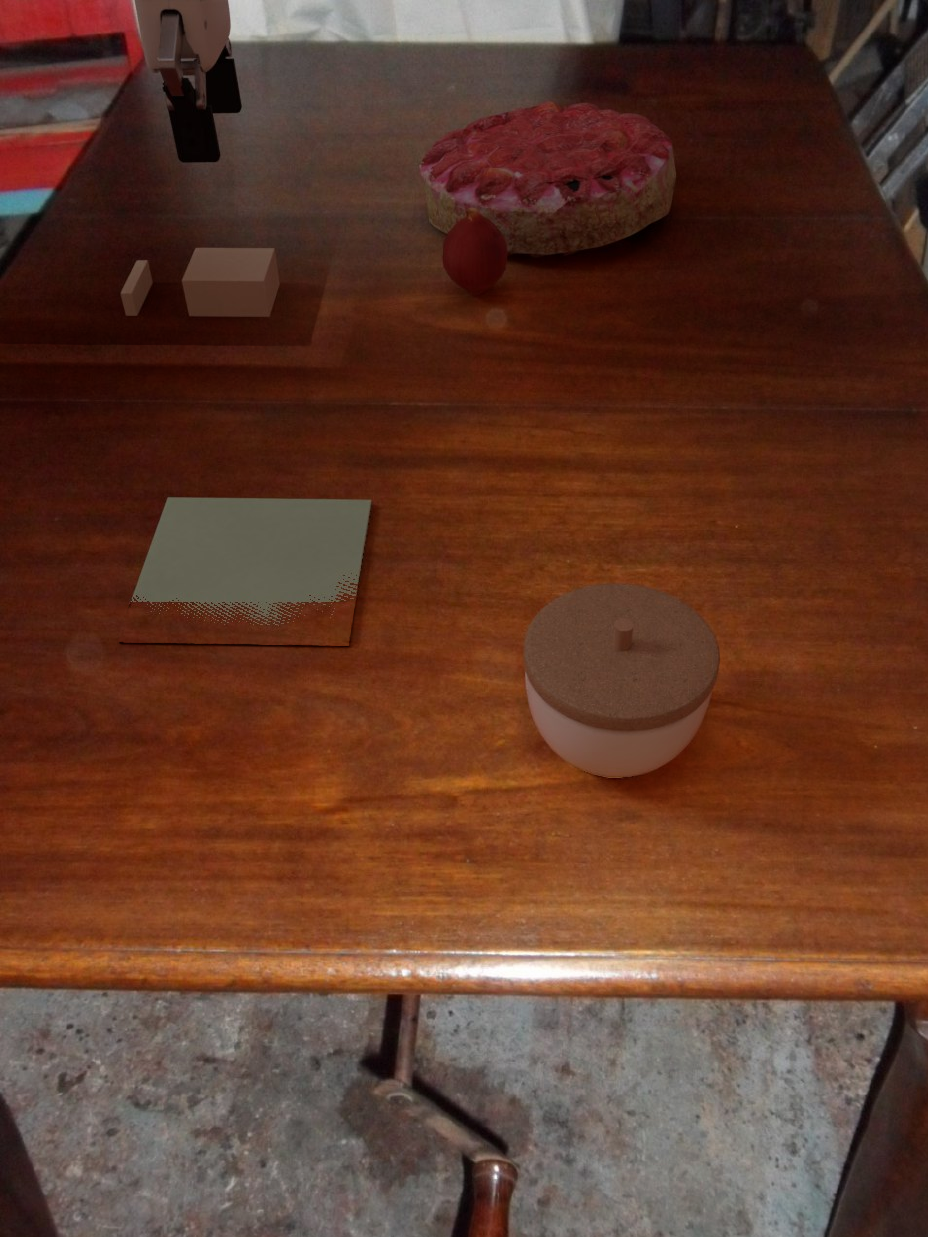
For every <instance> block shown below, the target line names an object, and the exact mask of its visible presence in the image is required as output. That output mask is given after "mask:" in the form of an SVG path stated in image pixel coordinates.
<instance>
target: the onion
mask: <svg viewBox="0 0 928 1237" xmlns="http://www.w3.org/2000/svg"><path fill="white" fill-rule="evenodd" d="M465 213H466V214H467V215H466V217H465V218H463V219H461V220H460V221H458V222H457V223H456V224H455V225H454V226H453V227H452V229H451V230H450V231H449V232H448V234H446V236H445V238H444V241H443V244H442V255H441V256H442V257H441V259H442V266H443V269H444V270H445V272H446V274H447V275H448V277H449V278H450V279H451V281H452V282H453V283H455V284H456V285H457V286H459V287H461V288H462V289H464V290H465V291H466V292H467V293H468V294H469V295H471V296H478V295H481V294H482V293H483V292H486V291H487V290H489V289H491V288H492V287H493V286H494V285H495V284H496V283H497V282H498V281H499V280H501V278H502V277H503V275H504V272H505V271H506V267H507V261H508V256H507V255H508V251H507V244H506V241H505V238H504V236H503V235H502V233H501V232H500V230H499V229H498V228H497V227H496V225H495V224H494V223H493V222H492V221H491V220H489V219H488V218H486V217H485V216H483V215H482V214H481V213H480V212H479V211H478V210H477V209H476V208H469V209H467V210H466V211H465Z"/></svg>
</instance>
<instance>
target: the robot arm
mask: <svg viewBox="0 0 928 1237" xmlns="http://www.w3.org/2000/svg"><path fill="white" fill-rule="evenodd" d="M229 3H230V2H229V0H134V6H135V12H136V17H137V23H138V28H139V34H140V40H141V46H142V50H143V54H144V61H145V65H146V67H147V69H149V71H151V72H152V73H153V74H159V73H160V75H161V78H162V81H163V82H162V91H163V93H165V94H164V95H165V105H166V108H167V112H168V116H169V121H170V122H169V123H170V126H171V131H172V136H173V141H174V145H175V150H176V154H177V158H178V160H179V162H181V163H183V164H184V163H187V164H189V163H190V164H191V163H194V164H195V163H217V162H219V161H220V159H221V149H220V144H219V139H218V138H219V137H218V133H217V129H216V121H215V117H214V114H239V113H240V112H241V110H242V108H243V105H242V98H241V93H240V92H241V91H240V87H239V81H238V80H239V79H238V75H237V69H236V68H237V67H236V63H235V58H232V57H233V46H232V42H231V39H230V34H231V28H232V22H231V12H230V4H229ZM182 59H183V60H182ZM184 59H190V60H184ZM191 59H193V60H191ZM186 76H187V77H186ZM189 76H193V77H194V86H193V83H192V82H191V80H190V79H189V78H188V77H189Z"/></svg>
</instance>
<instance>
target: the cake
mask: <svg viewBox="0 0 928 1237" xmlns="http://www.w3.org/2000/svg"><path fill="white" fill-rule="evenodd" d="M418 166H419V170H420V175H421V178H422V184H423V188H424V189H423V190H424V193H425V199H426V206H427V214H428V223H430V224H431V225H432V226H433V227H434V228H435V229H437V230H439V231H441V232H442V233H444V234H446V235H447V234H448V232H449V231H450V230H451V229H452V227H453V226H454V225H455V224H456V223H457V222H458V221H460V220H461V219H463V218H465V217H466V215H467V214H466V213H465V211H466V210H467V209H469V208H476V209H477V210H478V211H479V212H480V213H481V214H482V215H483V216H485V217H486V218H488V219H489V220H491V221H492V222H493V223H494V224H495V225H496V227H497V228H498V229H499V230H500V232H501V233H502V235H503V236H504V238H505V241H506V244H507V251H508V255H507V257H509V256H514V255H521V254H524V255H526V256H528V257H529V258H531V259H536V258H540V257H544V256H549V255H554V256H558V257H562V258H565V257H567V256H570V255H573V254H575V253H578V252H581V251H583V250H589V249H594V248H601V247H603V246H607V245H610V244H612V243H615V242H618V241H621V240H622V239H626V238H628V237H631V236H633V235H635V234H636V233H638V232H640V231H642V230H644V228H646V227H647V226H649V225H651V224H652V223H655V222H657V221H659V220H660V219H662V218H664V217H665V216H667V215H669V213H670V210H671V207H672V201H673V196H674V190H675V184H676V179H677V172H676V163H675V156H674V149H673V142H672V139H671V138H670V137H669V136H668V135H667V134H666V133H665V132H664V130H662V129H660V128H659V127H657V126H656V125H654V124H653V123H652V122H651V121H650V120H649V119H648V118H647V117H646V116H644V115H641V114H638V113H629V112H627V113H622V112H619V111H616V110H613V109H610V108H608V109H601V108H600V107H599V106H598V105H596V104H594V103H590V102H580V103H574V104H570V105H566V106H563V107H562V106H560V105H559V104H557V102H555V101H543V102H541V103H540V104H539V105H535V106H530V107H525V108H523V107H522V108H521V107H520V108H516V109H515V108H514V110H510V111H507V112H502V113H497V114H493V115H489V116H484V117H479V118H478V119H476V120H474V121H472V122H470V123H469V124H467V125H466V126H465V128H457V129H456V128H455V129H453V130H451V131H449V132H446V134H444V135H443V136H442V137H440V138H439V139H438V140H437V141H435V142H434V143H433V145H432V147H431V148H429V150H428V151H427V153H426V154H425V155H424V157H423V158H422V160H421V161H420V163H419V164H418Z"/></svg>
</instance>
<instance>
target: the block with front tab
mask: <svg viewBox="0 0 928 1237" xmlns="http://www.w3.org/2000/svg"><path fill="white" fill-rule="evenodd" d="M277 262H278V261H277V254H276V249H275V248H274V247H195V249H194V251H193V253H192V256H191V257H190V261H189V262H188V265H187V267H186V269H185V272H184V274H183V276H182V279H181V283H182V287H183V294H184V299H185V303H186V308H187V312H188V317H233V318H234V317H235V318H237V317H240V318H241V317H245V318H246V317H247V318H250V317H251V318H270V316H271V313H272V310H273V308H274V304H275V302H276V297H277V293H278V291H279V287H280V284H281V283H280V275H279V268H278V263H277ZM152 286H153V277H152V274H151V268H150V264H149V260H146V259H145V260H143V259H142V260H141V259H138V260H136V261H135V263H134V266H133V267H132V269H131V271H130V274H129V275H128V277H127V279H126V281H125V283H124V285H123V287H122V289H121V291H120V298H121V301H122V305H123V310H124V313H125V316H126V317H129V316H130V317H131V316H132V317H137V316H138V315H139V314H140V311H141V309H142V307H143V305H144V303H145V301H146V298H147V296H148V294H149V292H150V289H151V288H152Z"/></svg>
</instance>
